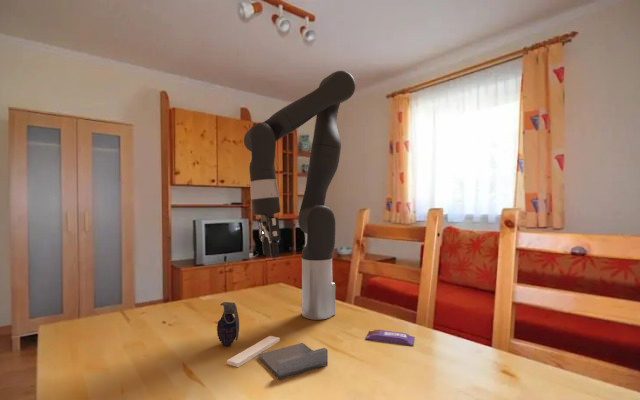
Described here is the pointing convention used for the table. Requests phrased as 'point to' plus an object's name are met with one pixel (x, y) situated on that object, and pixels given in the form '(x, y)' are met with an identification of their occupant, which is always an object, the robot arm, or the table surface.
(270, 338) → the door edge strip
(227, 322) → the hand grenade
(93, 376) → the table surface
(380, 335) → the snack package
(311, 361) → the plate
